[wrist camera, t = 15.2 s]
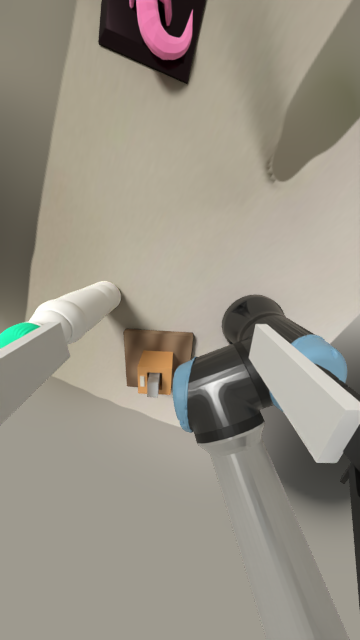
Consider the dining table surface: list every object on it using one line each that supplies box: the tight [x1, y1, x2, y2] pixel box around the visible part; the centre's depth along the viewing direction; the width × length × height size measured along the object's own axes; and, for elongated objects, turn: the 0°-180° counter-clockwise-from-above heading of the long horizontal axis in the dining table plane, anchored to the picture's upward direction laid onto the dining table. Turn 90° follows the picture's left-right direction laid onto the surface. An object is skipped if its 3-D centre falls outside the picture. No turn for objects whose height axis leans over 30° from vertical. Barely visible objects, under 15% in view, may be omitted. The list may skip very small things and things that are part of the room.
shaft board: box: [124, 329, 193, 397], centre depth 43 cm, size 18×18×12 cm
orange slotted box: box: [137, 350, 173, 395], centre depth 43 cm, size 8×8×7 cm
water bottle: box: [0, 281, 121, 348], centre depth 30 cm, size 7×7×25 cm
